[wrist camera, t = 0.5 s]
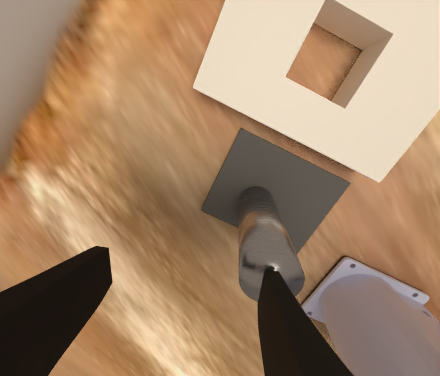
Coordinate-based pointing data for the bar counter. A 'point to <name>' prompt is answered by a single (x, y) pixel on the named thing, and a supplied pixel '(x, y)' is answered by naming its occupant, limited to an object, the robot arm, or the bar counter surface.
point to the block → (351, 86)
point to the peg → (264, 244)
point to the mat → (275, 186)
